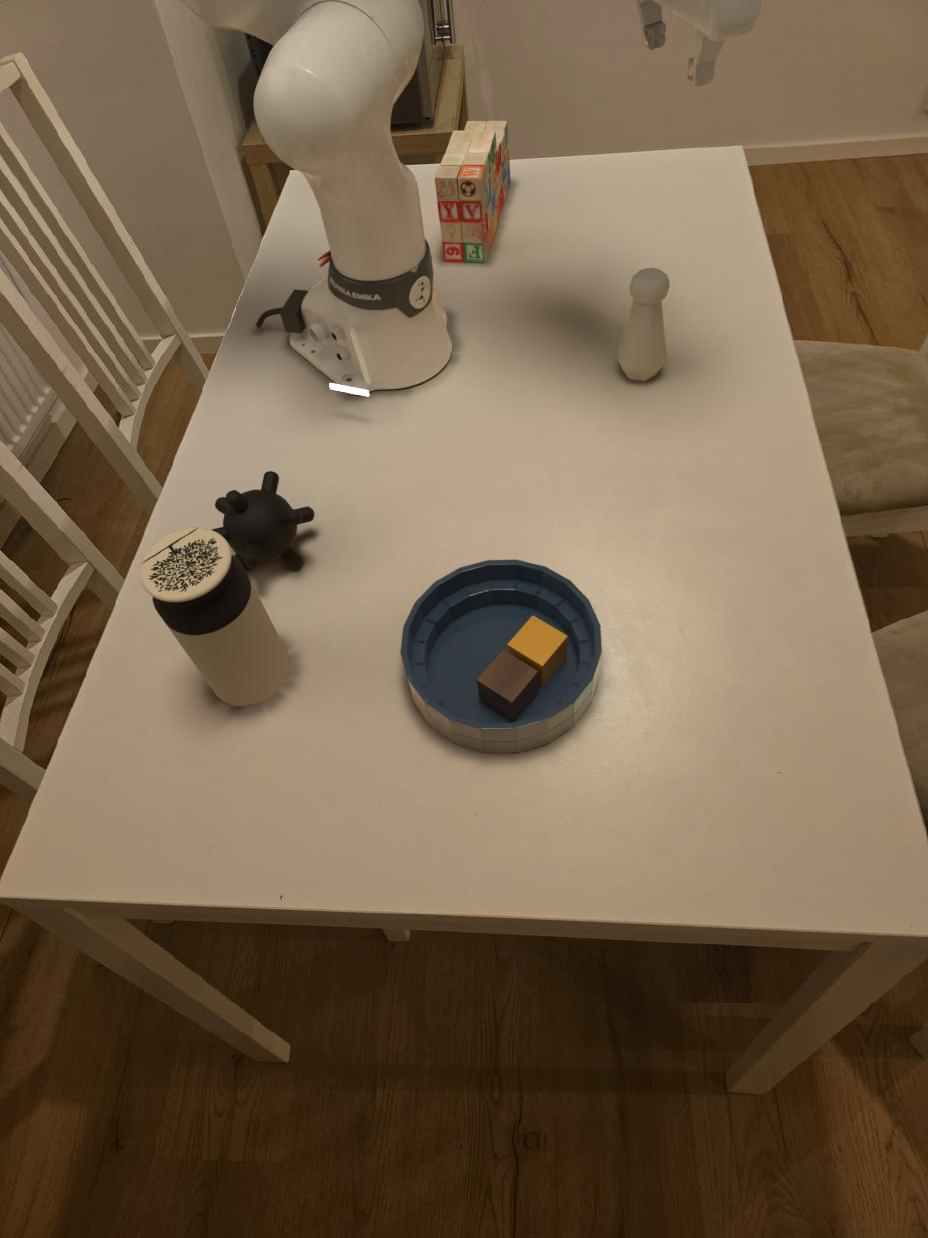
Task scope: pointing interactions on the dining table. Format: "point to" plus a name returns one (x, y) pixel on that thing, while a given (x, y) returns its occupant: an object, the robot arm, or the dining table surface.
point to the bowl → (475, 635)
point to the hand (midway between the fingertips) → (675, 63)
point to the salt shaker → (645, 326)
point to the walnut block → (508, 685)
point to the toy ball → (261, 524)
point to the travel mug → (216, 615)
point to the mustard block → (540, 648)
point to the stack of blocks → (472, 189)
